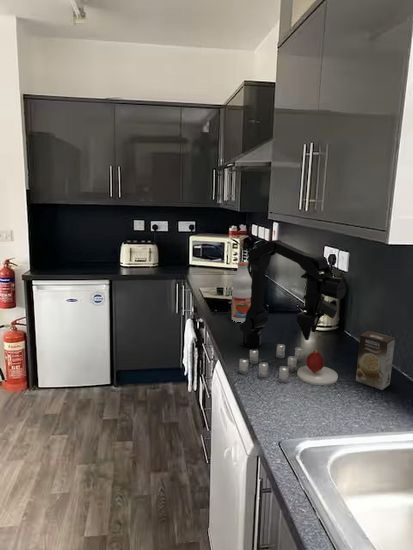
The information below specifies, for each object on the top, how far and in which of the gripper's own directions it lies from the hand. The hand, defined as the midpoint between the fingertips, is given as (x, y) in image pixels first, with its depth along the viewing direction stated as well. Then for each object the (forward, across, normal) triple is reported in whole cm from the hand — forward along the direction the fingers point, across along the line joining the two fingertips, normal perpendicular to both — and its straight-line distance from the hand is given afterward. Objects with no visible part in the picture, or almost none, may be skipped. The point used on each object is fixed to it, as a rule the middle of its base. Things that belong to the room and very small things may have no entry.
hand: (310, 335), depth 146 cm
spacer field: (+12, -6, +11) cm, 17 cm away
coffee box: (+11, -2, -22) cm, 25 cm away
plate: (+11, -7, -5) cm, 14 cm away
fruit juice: (+13, +37, +42) cm, 58 cm away
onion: (+10, -7, -4) cm, 13 cm away
